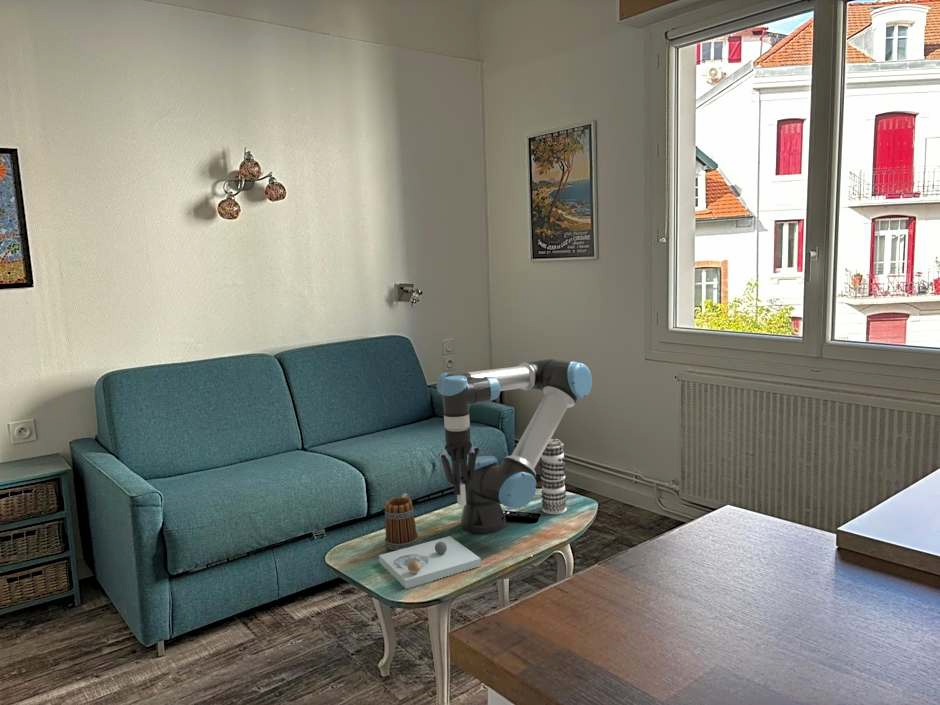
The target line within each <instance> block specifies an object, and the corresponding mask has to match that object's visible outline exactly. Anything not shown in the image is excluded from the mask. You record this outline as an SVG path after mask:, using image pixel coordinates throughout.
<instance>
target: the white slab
mask: <svg viewBox="0 0 940 705" xmlns="http://www.w3.org/2000/svg"><path fill="white" fill-rule="evenodd" d="M438 542H444V543H445V544H446V546H447V550H446V552H445V553H443V554H438V553H437V552H436V551H435V545H436V544H437V543H438ZM378 559H379V564H380V565H381V566H382V567H383V568H384V569H385V570H386V569H387V570H386V571H387V572H388V571H389V572H388V573H389V574H390V573H391V574H390V575H391V576H392V575H393V576H394V577H395V578H396V579H397V580H398V581H399V582H400V585H402V587H403V588H405V590H407V588H408V589H411V588H414V587H417V586H422V585H425V584H428V583H432V582H434V580H435V581H438V580H441V579H444V578H443V577H445V578H447V577H446V576H448V577H450V575H451V576H454V575H453V574H455V573H458V574H460V573H459V572H461V573H463V572H462V571H465V572H467V571H466V570H468V571H470V570H469V569H471V570H473V569H472V568H475V567H478V566H481V567H482V559H481V557H479V556H478V555H477V554H475V553H474V552H472V550H469V548H467V547H466V546H465V545H463V544H461V543H460V542H458V541H457V540H456V539H454V538H453V537H452V536H450V535H449V536H446V537H445V536H444V537H442V538H438V539H435V540H431V541H430V540H429V541H427V542H424V543H420V544H419V543H418V545H415V546H411V547H408V548H404V549H400V550H396V551H393V552H390V551H389V552H386V553H382V554H379V555H378ZM413 560H416V561H418V562H419V563H420V570H419V572H418V573H415V574H413V573H410V572H409V570H408V564H409V562H411V561H413ZM478 568H479V567H478ZM475 569H476V568H475ZM455 575H456V574H455ZM393 576H392V577H393ZM394 577H393V578H394ZM395 578H394V579H395ZM440 578H441V579H440ZM396 579H395V580H396ZM437 579H438V580H437ZM397 580H396V581H397ZM398 581H397V582H398Z"/></svg>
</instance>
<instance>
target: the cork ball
mask: <svg viewBox="0 0 940 705" xmlns="http://www.w3.org/2000/svg"><path fill="white" fill-rule="evenodd" d="M408 570H409V572H410V573H413V574H415V573H418V572H419V570H420V563H419V562H418V561H416V560H413V561H411V562H409V564H408Z"/></svg>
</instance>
